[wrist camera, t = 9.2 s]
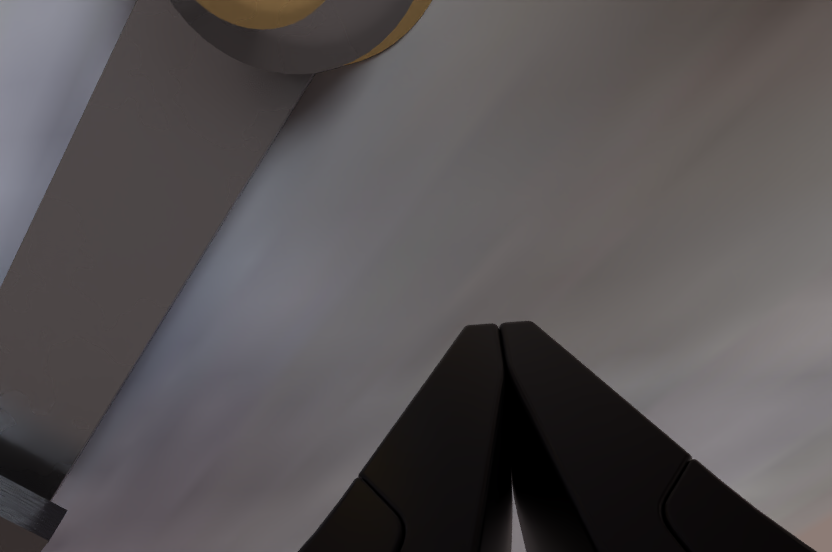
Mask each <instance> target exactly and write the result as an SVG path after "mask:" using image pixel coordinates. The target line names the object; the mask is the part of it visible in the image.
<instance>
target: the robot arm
mask: <svg viewBox="0 0 832 552" xmlns="http://www.w3.org/2000/svg"><path fill="white" fill-rule="evenodd" d="M358 477H359V478H356V479H355V480H354V481H353V483H352V484H351V485H350V487H349V488H348V490H347V491H346V492H345V494H344V495H343V497H342V498H341V499H340V501H339V502H338V503H337V505H336V506H335V507H334V508H333V510H332V511H331V512H330V514H329V515H328V516H327V518H326V519H325V520H324V521H323V523H322V524H321V525H320V527H319V528H318V529H317V530H316V532H315V533H314V534H313V535H312V536H311V537H310V538H309V540H308V541H307V542H306V543H305V544H304V545H303V546H302V548H301V549H300V550H299V551H298V552H511V543H512V486H513V493H514V500H515V505H516V509H517V514H518V519H519V523H520V527H521V531H522V535H523V539H524V544H525V548H526V552H816V551H815V550H814V549H812V548H811V547H809V546H808V545H806V544H805V543H804V542H802V541H801V540H799V539H798V538H797V537H795V536H794V535H792V534H791V533H790V532H788V531H787V530H785V529H784V528H783V527H781V526H780V525H778V524H777V523H776V522H774V521H773V520H772V519H770V518H769V517H767V516H766V515H765V514H763V513H762V512H760V511H759V510H758V509H756V508H755V507H754V506H753V505H751V504H750V503H749V502H748V501H746V500H745V499H744V498H742V497H741V496H740V495H739V494H737V493H736V492H735V491H734V490H732V489H731V488H730V487H729V486H727V485H726V484H725V483H724V482H722V481H721V480H720V479H719V478H717V477H716V476H715V475H714V474H713V473H712V472H710V471H709V470H708V469H707V468H706V467H704V466H703V465H702V464H701V463H700V462H699V461H697V460H695V459H692V457H691V455H690V454H689V453H687V452H686V451H685V450H684V449H683V448H682V447H680V446H679V445H678V444H677V443H676V442H674V441H673V440H672V439H671V438H670V437H669V436H667V435H666V434H665V433H664V432H663V431H661V430H660V429H659V428H658V427H657V426H655V425H654V424H653V423H652V422H651V421H650V420H648V419H647V418H646V417H645V416H644V415H642V414H641V413H640V412H639V411H638V410H637V409H635V408H634V407H633V406H632V405H631V404H629V403H628V402H627V401H626V400H625V399H624V398H622V397H621V396H620V395H619V394H618V393H616V392H615V391H614V390H613V389H612V388H611V387H609V386H608V385H607V384H606V383H605V382H603V381H602V380H601V379H600V378H599V377H598V376H596V375H595V374H594V373H593V372H592V371H590V370H589V369H588V368H587V367H586V366H584V365H583V364H582V363H581V362H580V361H579V360H577V359H576V358H575V357H574V356H573V355H571V354H570V353H569V352H568V351H567V350H566V349H564V348H563V347H562V346H561V345H560V344H558V343H557V342H556V341H555V340H554V339H553V338H551V337H550V336H549V335H548V334H547V333H545V332H544V331H543V330H542V329H541V328H540V327H538V326H537V325H536V324H535V323H533V322H531V321H521V322H507V323H503V324H501V325H500V327H499V328H498V326H497V325H495V324H478V325H468V326H466V327H464V329H463V330H462V331H461V333H460V334H459V336H458V337H457V338H456V340H455V341H454V342H453V344H452V345H451V347H450V348H449V349H448V351H447V352H446V354H445V355H444V356H443V358H442V359H441V361H440V362H439V363H438V365H437V366H436V368H435V369H434V370H433V372H432V373H431V375H430V376H429V377H428V379H427V380H426V381H425V383H424V384H423V386H422V387H421V388H420V390H419V391H418V393H417V394H416V395H415V397H414V398H413V400H412V401H411V402H410V404H409V405H408V407H407V408H406V409H405V411H404V412H403V414H402V415H401V416H400V418H399V419H398V421H397V422H396V423H395V425H394V426H393V427H392V429H391V430H390V432H389V433H388V434H387V436H386V437H385V439H384V440H383V441H382V443H381V444H380V446H379V447H378V448H377V450H376V451H375V453H374V454H373V455H372V457H371V458H370V460H369V461H368V462H367V464H366V465H365V467H364V468H363V469H362V471H361V472H360V473H359V476H358ZM511 478H512V480H511Z"/></svg>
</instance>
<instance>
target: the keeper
mask: <svg viewBox="0 0 832 552" xmlns="http://www.w3.org/2000/svg"><path fill="white" fill-rule="evenodd" d="M67 511H68V510H66V509H64V508H62V507H60V506H58V505H56V504H54V503H52V502H51V501H49V500H47V499H45V498H43V497H41V496H39V495H37V494H35V493H34V492H32V491H30V490H28V489H26V488H24V487H22V486H20V485H18V484H17V483H15V482H13V481H11V480H9V479H7V478H5V477H3V476H1V475H0V552H40V551H41V550H42V549H43V548H44V546H45V545H46V544H47V543H48V542H49V540H50V538H51V537H52V535H53V533H54V532H55V530H56V529H57V527H58V525H59V524H60V522H61V520H62V519H63V517H64V515H65V514H66V512H67Z"/></svg>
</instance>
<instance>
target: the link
mask: <svg viewBox="0 0 832 552" xmlns="http://www.w3.org/2000/svg"><path fill="white" fill-rule="evenodd" d="M412 2H413V0H326V1H325V2H324V3H323V4H321V5H320V6H319V7H318V8H317V9H316V10H315V11H314V12H312V13H311V14H310V15H308V16H307V17H305V18H304V19H302V20H300V21H298V22H296V23H294V24H291V25H288V26H285V27H281V28H275V29H251V28H246V27H241V26H237V25H235V24H232V23H229V22H227V21H225V20H223V19H221V18H219V17H217V16H215V15H214V14H212V13H211V12H209V11H208V10H207V9H205V8H204V7H203V6H202V5H201V4H199V3H198V2H197V1H196V0H137V1H136V3H135V5H134V7H133V10H132V12H131V14H130V16H129V18H128V20H127V22H126V24H125V26H124V29H123V31H122V33H121V35H120V37H119V39H118V41H117V43H116V45H115V48H114V50H113V52H112V54H111V56H110V58H109V60H108V62H107V64H106V66H105V69H104V71H103V73H102V75H101V77H100V79H99V81H98V83H97V85H96V88H95V90H94V92H93V94H92V96H91V98H90V100H89V102H88V104H87V107H86V109H85V111H84V113H83V115H82V117H81V119H80V121H79V123H78V125H77V128H76V130H75V132H74V134H73V136H72V138H71V140H70V142H69V144H68V147H67V149H66V151H65V153H64V155H63V157H62V159H61V161H60V163H59V166H58V168H57V170H56V172H55V174H54V176H53V178H52V180H51V182H50V184H49V187H48V189H47V191H46V193H45V195H44V197H43V199H42V201H41V203H40V206H39V208H38V210H37V212H36V214H35V216H34V218H33V220H32V222H31V225H30V227H29V229H28V231H27V233H26V235H25V237H24V239H23V241H22V243H21V246H20V248H19V250H18V252H17V254H16V256H15V258H14V260H13V262H12V265H11V267H10V269H9V271H8V273H7V275H6V277H5V279H4V281H3V284H2V286H1V288H0V475H1V476H3V477H5V478H7V479H9V480H11V481H13V482H15V483H17V484H18V485H20V486H22V487H24V488H26V489H28V490H30V491H32V492H34V493H35V494H37V495H39V496H41V497H43V498H45V499H47V500H49V501H52V499H53V497H54V496H55V494H56V493H57V491H58V490H59V488H60V487H61V485H62V483H63V482H64V480H65V479H66V477H67V475H68V474H69V472H70V471H71V469H72V467H73V466H74V464H75V462H76V461H77V459H78V458H79V456H80V454H81V453H82V451H83V449H84V448H85V446H86V445H87V443H88V441H89V440H90V438H91V436H92V435H93V433H94V432H95V430H96V428H97V427H98V425H99V424H100V422H101V420H102V419H103V417H104V415H105V414H106V412H107V411H108V409H109V407H110V406H111V404H112V402H113V401H114V399H115V398H116V396H117V394H118V393H119V391H120V389H121V388H122V386H123V385H124V383H125V381H126V380H127V378H128V377H129V375H130V373H131V372H132V370H133V368H134V367H135V365H136V364H137V362H138V360H139V359H140V357H141V355H142V354H143V352H144V351H145V349H146V347H147V346H148V344H149V342H150V341H151V339H152V338H153V336H154V334H155V333H156V331H157V330H158V328H159V326H160V325H161V323H162V321H163V320H164V318H165V317H166V315H167V313H168V312H169V310H170V308H171V307H172V305H173V304H174V302H175V300H176V299H177V297H178V295H179V294H180V292H181V291H182V289H183V287H184V286H185V284H186V282H187V281H188V279H189V278H190V276H191V274H192V273H193V271H194V270H195V268H196V266H197V265H198V263H199V261H200V260H201V258H202V257H203V255H204V253H205V252H206V250H207V248H208V247H209V245H210V244H211V242H212V240H213V239H214V237H215V235H216V234H217V232H218V231H219V229H220V227H221V226H222V224H223V223H224V221H225V219H226V218H227V216H228V214H229V213H230V211H231V210H232V208H233V206H234V205H235V203H236V201H237V200H238V198H239V197H240V195H241V193H242V192H243V190H244V188H245V187H246V185H247V184H248V182H249V180H250V179H251V177H252V176H253V174H254V172H255V171H256V169H257V167H258V166H259V164H260V163H261V161H262V159H263V158H264V156H265V154H266V153H267V151H268V150H269V148H270V146H271V145H272V143H273V141H274V140H275V138H276V137H277V135H278V133H279V132H280V130H281V129H282V127H283V125H284V124H285V122H286V120H287V119H288V117H289V116H290V114H291V112H292V111H293V109H294V107H295V106H296V104H297V103H298V101H299V99H300V98H301V96H302V94H303V93H304V91H305V90H306V88H307V86H308V85H309V83H310V81H311V80H312V78H313V77H314V75H315V73H318V72H323V71H327V70H331V69H335V68H338V67H341V66H343V65H345V64H348V63H350V62H353V61H355V60H356V59H358V58H360V57H361V56H363V55H365V54H367V53H368V52H370V51H371V50H372V49H373V48H375V47H376V46H377V45H379V44H380V43H381V42H382V41H383V40H384V39H385V38H386V37H387V36H388V35H389V34H390V33H391V32H392V31H393V30H394V29H395V28H396V26H397V25H398V24H399V22H400V21H401V20H402V18H403V17H404V16H405V14H406V13H407V11H408V9H409V7H410V6H411V4H412Z"/></svg>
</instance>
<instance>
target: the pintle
mask: <svg viewBox="0 0 832 552" xmlns="http://www.w3.org/2000/svg"><path fill="white" fill-rule="evenodd" d="M196 1H197V2H198V3H199V4H201V5H202V6H203V7H204V8H205V9H207V10H208V11H209V12H211V13H212V14H214V15H215V16H217V17H219V18H221V19H223V20H225V21H227V22H229V23H232V24H235V25H237V26H241V27H246V28H251V29H275V28H281V27H285V26H288V25H291V24H294V23H296V22H298V21H300V20H302V19H304V18H305V17H307V16H308V15H310V14H311V13H312V12H314V11H315V10H316V9H317V8H318V7H319V6H320V5H321V4H323V3H324V2H325V1H326V0H196ZM431 1H432V0H413V2H412V4H411V6H410V7H409V9H408V11H407V13H406V14H405V16H404V17H403V18H402V20H401V21H400V22H399V24H398V25H397V26H396V28H395V29H394V30H393V31H392V32H391V33H390V34H389V35H388V36H387V37H386V38H385V39H384V40H383V41H382V42H381V43H380V44H379V45H377V46H376V47H375V48H373V49H372V50H371V51H370V52H368V53H367V54H365V55H363V56H361V57H360V58H358V59H356V60H355V61H353V62H350V63H348V64H345V65H349V64H352V63H355V62H359V61H362V60H365V59H367V58H369V57H371V56H373V55H376V54H378V53H380V52H382V51H383V50H385V49H386V48H388V47H389V46H391V45H392V44H394V43H395V42H397V41H398V40H399V39H400V38H401V37H402V36H403V35H405V34H406V33H407V32H408V31H409V30H410V29H411V28H412V27H413V26H414V24H415V23H416V22H417V21H418V20H419V19H420V18H421V16H422V15H423V13H424V12H425V10H426V9H427V8H428V6H429V5H430V3H431Z"/></svg>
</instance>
